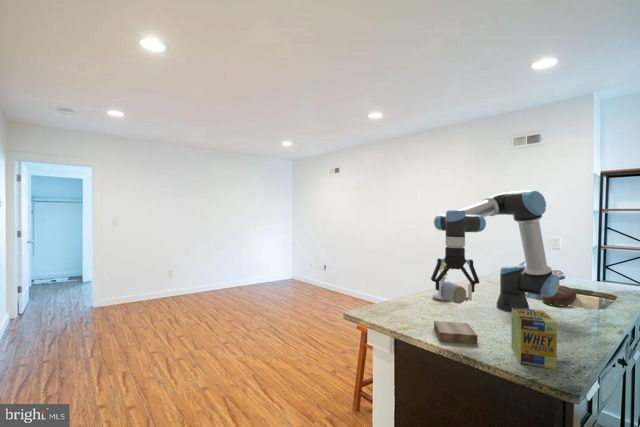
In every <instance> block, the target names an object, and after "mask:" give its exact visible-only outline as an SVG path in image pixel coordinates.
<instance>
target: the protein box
mask: <svg viewBox="0 0 640 427" xmlns="http://www.w3.org/2000/svg"><path fill="white" fill-rule="evenodd" d="M557 324H558V323H557V322H556V321H555V319H553V318H552V317H551V316H549V314H548V313H546V312H545V311H544V310H542V309H541V310H539V309H532V308H529V309H524V308H515V307H512V312H511V332H510V333H511V334H510V335H511V337H510V338H511V340H510V342H511V343H510V344H511V348H512V351H513V353H514V354H515V356H516V358H517V360H518V362H519V364H521V365H525V366H531V367H539V368H546V369H549V370H550V369H551V370H557V353H558V352H557V347H558V346H557V341H558V338H557V336H558V331H557V330H558V325H557Z"/></svg>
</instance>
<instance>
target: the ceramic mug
mask: <svg viewBox="0 0 640 427" xmlns="http://www.w3.org/2000/svg"><path fill="white" fill-rule="evenodd" d="M441 297H442V298H443V299H445V300H444V301H448V302H450V303H454V304H456V305H457V304H458V305H459V304H462V303H465V302H469V299H468V293H467V290H466V289H465V287H463V286H461V285H458V284H456V283H453V282H451V281H445V283H443V285H442V286H441Z"/></svg>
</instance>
